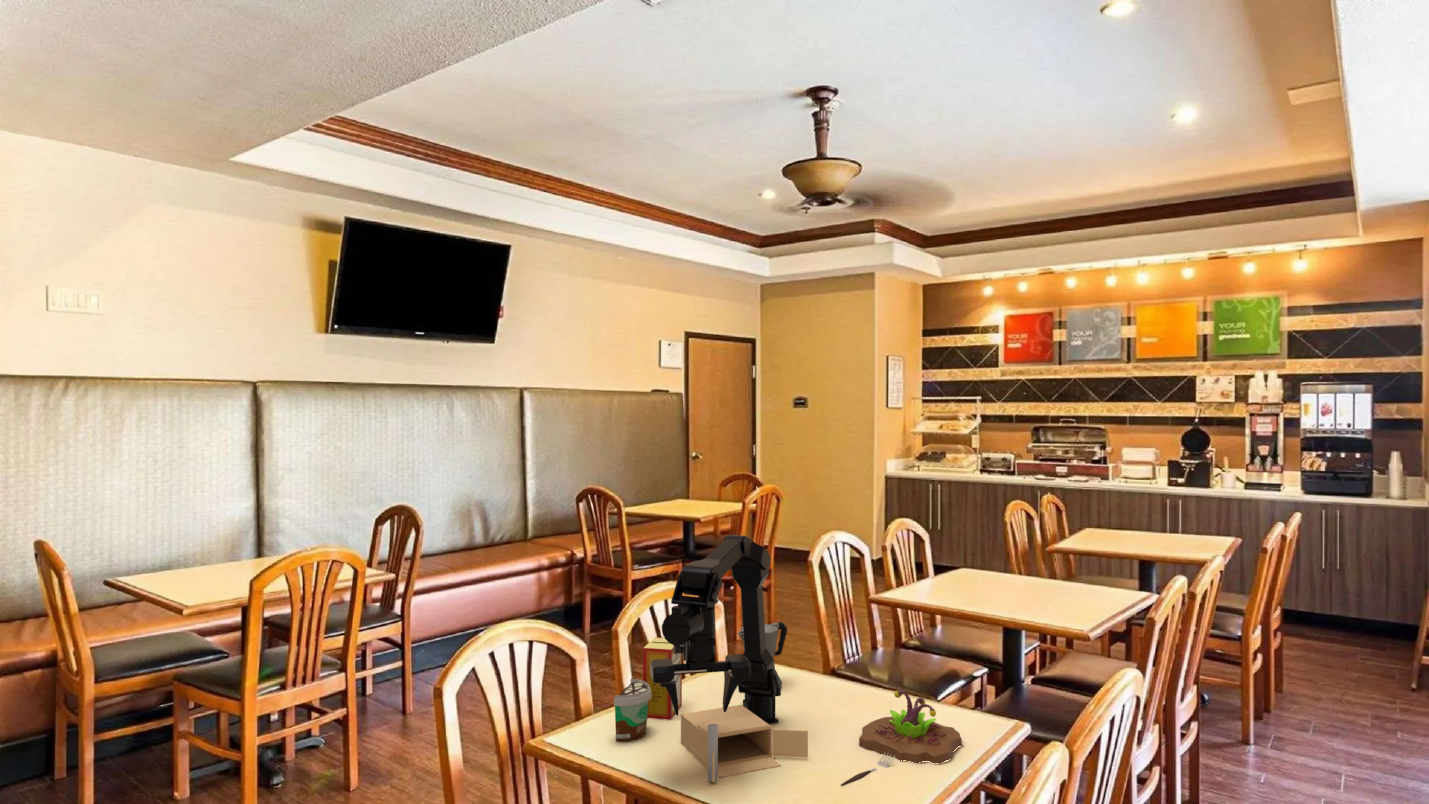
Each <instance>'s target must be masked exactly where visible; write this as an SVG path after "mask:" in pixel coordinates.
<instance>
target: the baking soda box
mask: <svg viewBox="0 0 1429 804" xmlns="http://www.w3.org/2000/svg"><path fill="white" fill-rule="evenodd" d="M658 659H671V661H672V663H673V664H683V663H682V662H683V654H674V652H673V645H672V644H670V643H669V642H668V641H667V640H666V639H665V638H664V637H657V636H656V637H654V638H652V639H651V641H650V642H648V643H647V644H646V645H645V646H644V647H643V648H642V668H643V669H642V681H644V682H646V683H648V684H649V687H650V689H651V694H652V697H651V698H650V699H649V700H648V712H647V719H652V720H653V719H655V720H664V719H666V720H665V721H671V720H672V719H673V718H674V716H676V714H675V710H674V707H673V704H672V701H671V698H670V695H669V693H668V691H667V689H666V687H660V684H659V683H654V682H653V680H652V677H651V674H650V664H651V662H652V661H653V660H658ZM682 676H683V674H679V675H674V680H675V683H676V689H677V699H678V708H679V710H680V709H681V708H682V706H683V705H682V702H683V701H682V696H683V694H682V693H683V690H682V688H683V681H682V680H683V677H682Z"/></svg>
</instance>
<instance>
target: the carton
mask: <svg viewBox="0 0 1429 804" xmlns="http://www.w3.org/2000/svg"><path fill="white" fill-rule="evenodd" d="M709 724H717V725H718V779H719V778H725V777H729V775H731V776H735V775H736V776H737V775H741V774H746V773H745V772H747V773H750V772H751V773H752V772H758V771H761V770H767V769H772V768H778V767H781V766H782V764H781V763H779V762H778V761H777V760H775V759H774V758H773V757H786V758H788V757H789V758H807V759H808V758H809V731H808V730H805V729H804V730H803V729H785V728H783V729H782V728H781V729H780V728H773V726H772V725H771V724H767V723H766V722H765V721H763V720H762V719H761V718H759V717H758V716H756V715H755V714H754V713H752V712H751V711H749V710H748V709H747V708H745V707H744V706H743V704H737V705H729V706H728V708H727V711H726V712H724V711H723V707H718V708H711V709H704V710H698V711H691V712H685V713H680V744H681V745H682V746H683V747H685V749H687V750H688V751H689V752H690V753H691V754H692V755H693V756H694V757H695V758H696V759H697V760H698V761H699V762H700V763H701V764H702V765H703V766H704V767H705V768H706V769H707V770H708V725H709Z"/></svg>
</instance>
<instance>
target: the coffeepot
mask: <svg viewBox="0 0 1429 804" xmlns="http://www.w3.org/2000/svg"><path fill="white" fill-rule="evenodd" d="M779 631H780V633H779ZM787 634H788V627H787V626H786V625H785V623H784V622H782V621H778V622H772V623H770V624H766V623H765V641H766V649H767V650H768V652H769V653H770V654H771V656H772V657H773V658H774V656H775V657H776V656H780V655H782V653H783V649H784V646H785V641H786V639H787V638H786V636H787ZM737 635H738V636H739V637H740V639H741V640H742V645H743V647H744V635H743V626H741V627H740V630H739V631H738V633H737ZM778 635H780V636H779V641H778ZM777 642H778V643H777ZM776 649H777V651H776Z"/></svg>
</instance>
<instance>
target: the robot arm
mask: <svg viewBox="0 0 1429 804" xmlns="http://www.w3.org/2000/svg"><path fill="white" fill-rule="evenodd" d="M771 562H772V561H771V555H770V553H769V552H768V551H767V550H766V548H765V547H764V546H762V545H760V544H758V543H756V542H754V541H753V540H751V537H748V536H746V535H742V534H741V535H739V534H728V535H726V536H724V538H723V541H722V542H721V543H720V544H719V545H718V546H717V547H715V548H714V550H712V551H711V552H710V553H709V554H708V555H707V556H706V557H705V558H703V559H699V560H693V561H691V562H689V563H687V564H685V565H684V566H683V567H682V569H681V570H680V572H679V574H678V577H677V581H676V584H675V587H674V590H673V594H672V597H671V600H670V604H671V605H673V606H672V607H671V614H669V615H667V616H666V617H665V618H664V620H662V624H661V631H662V632H661V633H662V636H663V638H665V639H666V640H667V641H668V642H669V643H670V644H672V645H673V652H674V654H682V661H684V662H685V663H682V664H673V663H672V661H671V659H658V660H653V661H652V662H651V664H650V674H651V677H652V680H653V682H654V683H659V684H660V687H666V689H667V691H668V693H669V695H670V698H671V701H672V704H673V707H674V710H675V716H677V717H678V716H679V710H680V709H679V708H678V699H677V689H676V683H675V680H674V675H679V674H682V675H691V674H694V675H695V674H708V673H723V676H724V677H723V679H724V683H723V693H722V708H723V711H724V712H726V711H727V708H728V707H730V703H731V700H732V698H733V695H734V693H735V691H736V690H737V689H738V693H740V694H744V699H742V705H743V706H744V707H745V708H747V709H748V710H749V711H751V712H752V713H754V714H755V715H756V716H758V717H759V718H761V719H762V720H763V721H765V722H766V723H767V724H769V725H771V724H778V723H780V720H779V719H778V718H777V717H776V697H780V696H782V689H783V688H782V684H783V681H782V680H781V677H780V675H779V673H778V671H777V669H776V668H775V667H776V664H775V660H774V656H773V657H772V656H771V654H770V653H769V652H768V650H767V649H766V641H765V624H766V623H765V609H764V593H763V592H764V589H763V585H764V583H765V581H766V579H767V577H768V576H769V574H770V567H771ZM729 570H731V574H732V578H733V580H734V581H735V583H736V584H737V586H738V587H739V589H740V598H741V599H740V600H741V615H742V616H741V617H742V618H741V619H742V627H743V635H744V646H743V650H744V652H743V653H739V654H727V655H725V660H719V661H718V660H717V661H716V605H717V604H718V603H719V599H718V596H719V594H720V590H721V589H722V587H723V577H724V576H725V574H727V572H728V571H729Z"/></svg>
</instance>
